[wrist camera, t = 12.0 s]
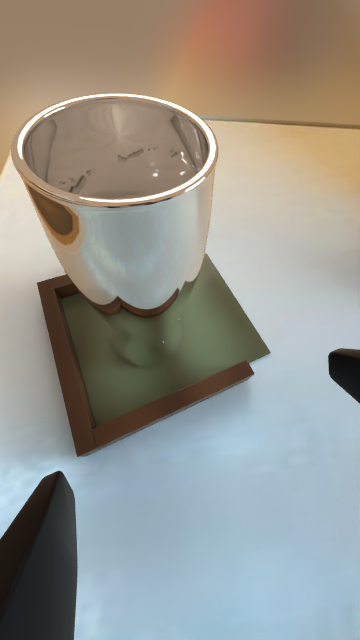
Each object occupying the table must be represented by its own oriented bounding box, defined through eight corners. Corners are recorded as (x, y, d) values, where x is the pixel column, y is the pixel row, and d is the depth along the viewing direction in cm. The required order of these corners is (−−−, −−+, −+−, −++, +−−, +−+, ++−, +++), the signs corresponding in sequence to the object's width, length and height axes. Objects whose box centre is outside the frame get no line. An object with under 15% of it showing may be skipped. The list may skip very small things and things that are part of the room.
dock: (201, 247, 27) (203, 234, 25) (277, 365, 21) (287, 358, 19) (45, 294, 23) (36, 282, 21) (85, 456, 17) (77, 457, 15)
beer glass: (94, 362, 20) (-50, 184, 6) (120, 292, 23) (60, 78, 10) (179, 380, 19) (211, 231, 6) (193, 306, 23) (233, 105, 9)
